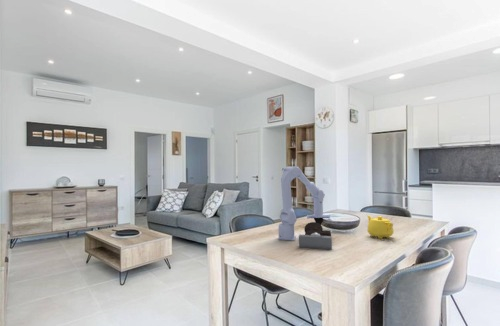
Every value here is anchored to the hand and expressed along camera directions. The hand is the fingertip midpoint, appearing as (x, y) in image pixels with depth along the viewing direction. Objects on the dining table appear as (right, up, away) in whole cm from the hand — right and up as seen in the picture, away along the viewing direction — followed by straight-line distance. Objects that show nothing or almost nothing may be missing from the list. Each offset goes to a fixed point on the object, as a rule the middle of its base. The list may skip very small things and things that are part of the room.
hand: (318, 229), depth 178 cm
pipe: (-4, -3, -15) cm, 16 cm away
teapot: (+35, -2, -9) cm, 36 cm away
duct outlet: (-9, -2, -30) cm, 31 cm away
